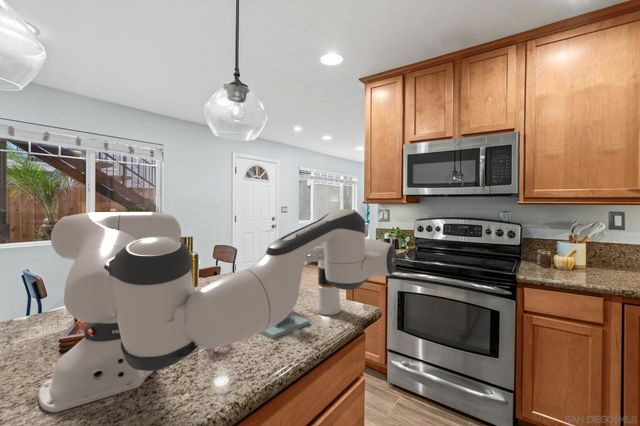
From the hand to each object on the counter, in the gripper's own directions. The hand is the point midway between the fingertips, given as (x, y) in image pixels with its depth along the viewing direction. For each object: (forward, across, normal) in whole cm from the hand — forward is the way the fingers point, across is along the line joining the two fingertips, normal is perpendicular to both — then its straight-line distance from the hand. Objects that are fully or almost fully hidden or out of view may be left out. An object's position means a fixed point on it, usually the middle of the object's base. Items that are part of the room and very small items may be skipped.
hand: (306, 246), depth 93 cm
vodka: (+9, +21, -28) cm, 36 cm away
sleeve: (+13, 0, -27) cm, 30 cm away
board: (+13, 0, -28) cm, 31 cm away
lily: (+14, -24, -28) cm, 39 cm away
